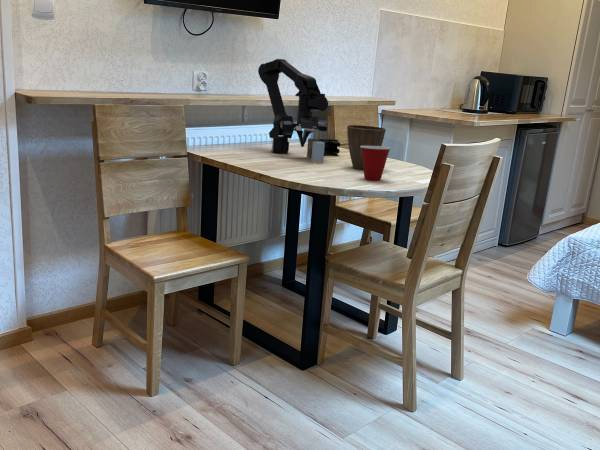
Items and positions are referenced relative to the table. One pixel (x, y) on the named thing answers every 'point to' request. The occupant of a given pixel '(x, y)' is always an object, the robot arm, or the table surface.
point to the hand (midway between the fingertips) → (302, 146)
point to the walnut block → (310, 147)
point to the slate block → (317, 152)
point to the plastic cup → (374, 161)
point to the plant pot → (362, 141)
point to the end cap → (330, 147)
